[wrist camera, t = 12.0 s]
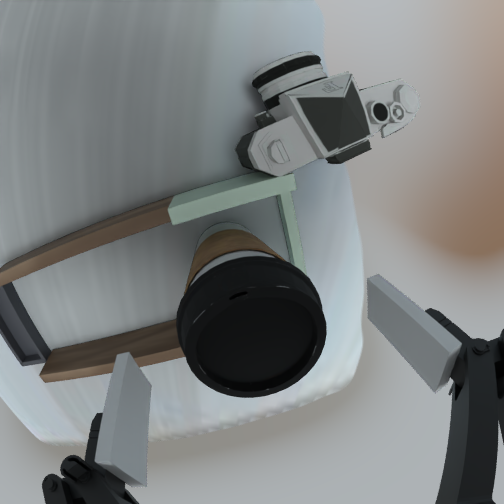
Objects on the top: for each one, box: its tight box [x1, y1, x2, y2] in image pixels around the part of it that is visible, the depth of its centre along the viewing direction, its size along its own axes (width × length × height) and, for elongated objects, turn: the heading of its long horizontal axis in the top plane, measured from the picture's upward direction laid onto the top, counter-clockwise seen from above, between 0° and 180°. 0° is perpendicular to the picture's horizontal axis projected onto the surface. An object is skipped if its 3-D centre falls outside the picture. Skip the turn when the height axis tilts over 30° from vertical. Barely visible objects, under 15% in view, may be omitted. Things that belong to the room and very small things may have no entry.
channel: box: [0, 196, 185, 383], centre depth 23 cm, size 13×22×5 cm, turn 104°
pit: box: [0, 282, 51, 366], centre depth 24 cm, size 12×6×2 cm, turn 14°
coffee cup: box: [176, 222, 327, 398], centre depth 20 cm, size 8×8×15 cm
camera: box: [235, 51, 420, 177], centre depth 19 cm, size 16×9×10 cm, turn 116°
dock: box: [168, 172, 307, 276], centre depth 24 cm, size 13×10×6 cm
